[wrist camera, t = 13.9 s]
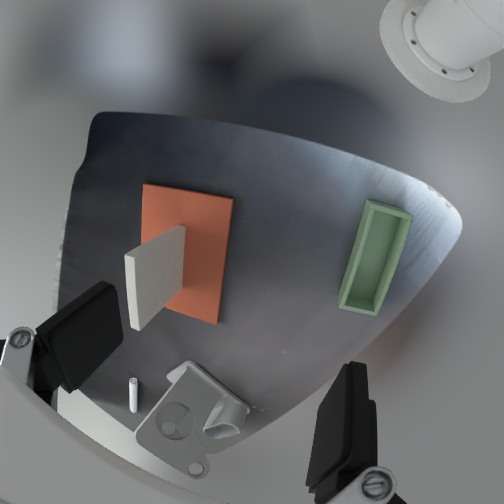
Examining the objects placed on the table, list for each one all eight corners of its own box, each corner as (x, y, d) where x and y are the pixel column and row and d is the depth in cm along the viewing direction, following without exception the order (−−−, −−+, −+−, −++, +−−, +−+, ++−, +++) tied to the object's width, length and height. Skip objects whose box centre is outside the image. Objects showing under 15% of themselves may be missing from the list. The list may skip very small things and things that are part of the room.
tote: (366, 198, 31) (371, 203, 28) (404, 209, 30) (413, 215, 27) (337, 294, 36) (338, 308, 33) (372, 302, 35) (376, 316, 32)
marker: (138, 411, 63) (134, 416, 61) (132, 407, 63) (128, 413, 61) (139, 380, 56) (134, 386, 54) (132, 375, 56) (127, 381, 54)
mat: (146, 183, 37) (143, 184, 37) (234, 198, 35) (232, 199, 34) (145, 297, 45) (143, 299, 44) (218, 322, 43) (216, 325, 42)
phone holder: (254, 409, 49) (229, 481, 33) (224, 420, 53) (196, 482, 37) (190, 358, 48) (144, 429, 31) (165, 374, 52) (123, 435, 35)
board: (177, 224, 37) (124, 254, 27) (185, 226, 37) (134, 257, 26) (174, 285, 41) (130, 327, 30) (182, 287, 41) (139, 331, 30)
